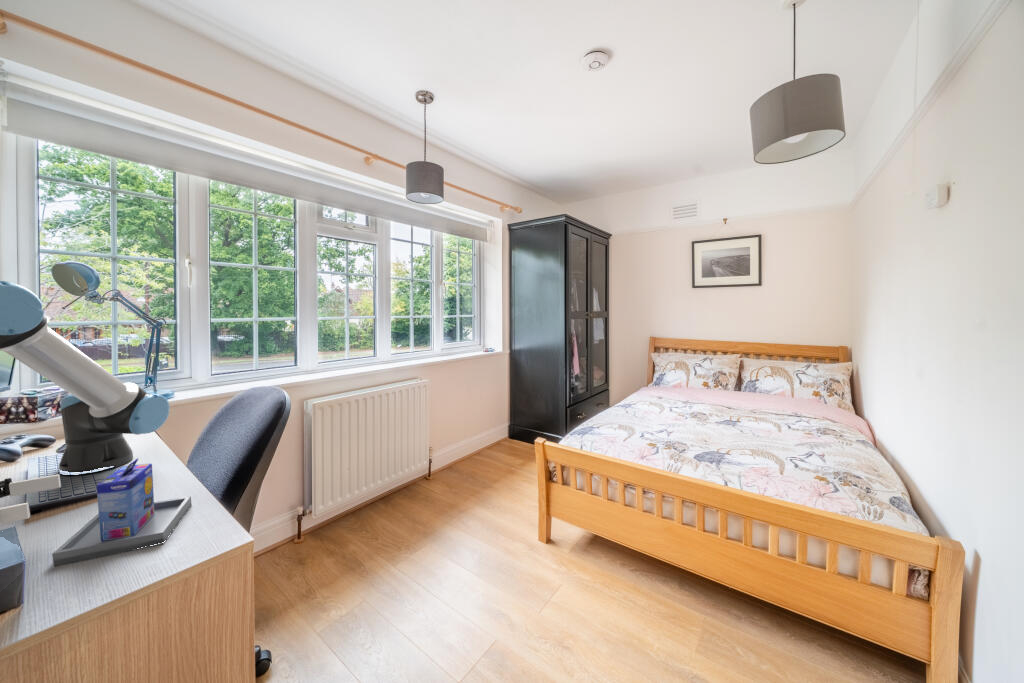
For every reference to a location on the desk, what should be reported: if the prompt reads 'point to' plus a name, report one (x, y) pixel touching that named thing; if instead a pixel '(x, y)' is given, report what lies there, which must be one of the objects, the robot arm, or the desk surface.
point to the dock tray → (151, 533)
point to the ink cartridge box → (125, 501)
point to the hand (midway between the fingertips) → (45, 494)
